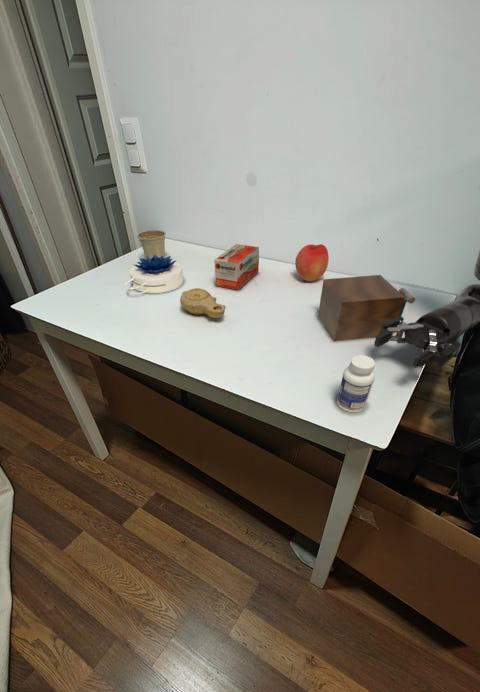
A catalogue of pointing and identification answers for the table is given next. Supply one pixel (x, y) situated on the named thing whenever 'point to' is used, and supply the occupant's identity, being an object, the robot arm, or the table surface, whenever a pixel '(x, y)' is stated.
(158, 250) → the flower pot
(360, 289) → the cabinet
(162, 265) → the lotus flower trinket box
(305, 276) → the apple
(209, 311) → the oil lamp
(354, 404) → the pill bottle
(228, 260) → the medicine box
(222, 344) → the table surface
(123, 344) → the table surface
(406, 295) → the drawer
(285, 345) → the table surface
